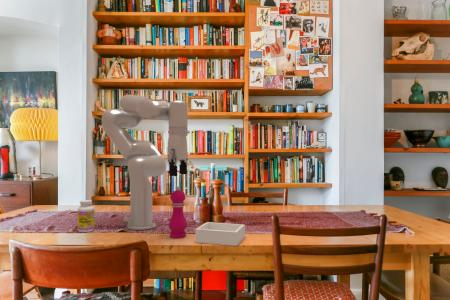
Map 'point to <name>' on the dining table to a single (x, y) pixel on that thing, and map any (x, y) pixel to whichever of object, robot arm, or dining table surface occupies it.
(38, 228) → the dining table surface
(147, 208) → the robot arm
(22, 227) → the dining table surface
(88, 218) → the supplement bottle
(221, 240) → the tote
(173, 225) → the pepper mill
